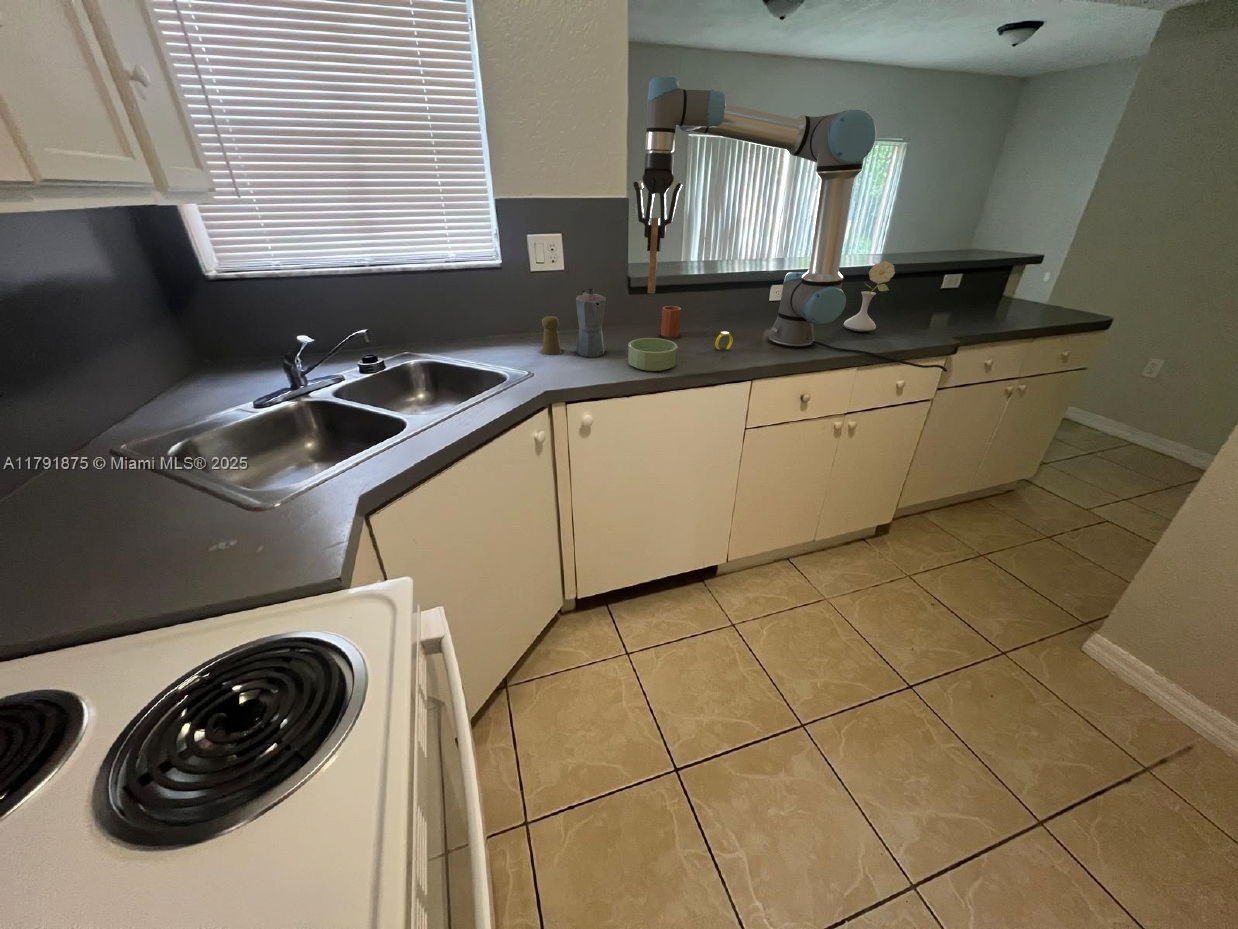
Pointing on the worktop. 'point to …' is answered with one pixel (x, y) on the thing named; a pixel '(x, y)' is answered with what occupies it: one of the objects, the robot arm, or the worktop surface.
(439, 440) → the worktop surface
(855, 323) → the flower in vase
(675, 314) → the utensil pot
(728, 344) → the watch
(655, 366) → the bowl
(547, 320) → the olive pepper grinder
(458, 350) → the worktop surface
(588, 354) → the moka pot
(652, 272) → the stirring stick
